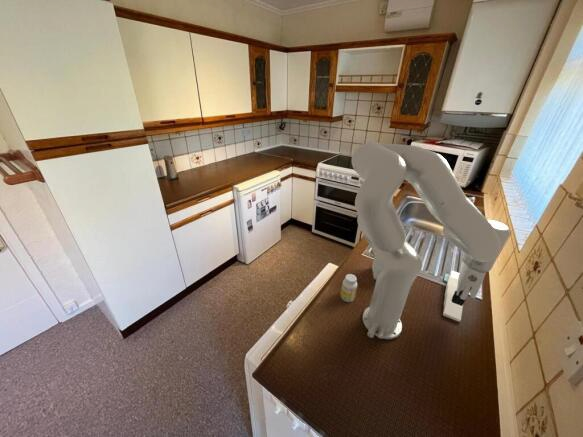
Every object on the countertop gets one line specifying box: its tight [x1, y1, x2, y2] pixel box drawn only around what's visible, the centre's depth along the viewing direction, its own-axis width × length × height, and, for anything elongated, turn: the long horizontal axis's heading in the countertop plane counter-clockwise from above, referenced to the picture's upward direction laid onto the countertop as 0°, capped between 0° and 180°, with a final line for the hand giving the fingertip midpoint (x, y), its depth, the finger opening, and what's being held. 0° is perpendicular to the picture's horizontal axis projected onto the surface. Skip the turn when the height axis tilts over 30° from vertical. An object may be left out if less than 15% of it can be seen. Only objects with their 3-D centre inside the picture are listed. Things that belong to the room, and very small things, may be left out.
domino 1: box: [443, 273, 450, 283], centre depth 98 cm, size 2×5×9 cm
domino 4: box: [443, 284, 457, 307], centre depth 88 cm, size 2×5×9 cm
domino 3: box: [444, 276, 458, 298], centre depth 92 cm, size 2×5×9 cm
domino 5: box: [442, 292, 464, 322], centre depth 84 cm, size 2×5×9 cm
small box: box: [371, 253, 384, 280], centre depth 100 cm, size 8×6×10 cm
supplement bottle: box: [340, 273, 358, 303], centre depth 88 cm, size 5×5×10 cm
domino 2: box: [449, 270, 460, 279], centre depth 96 cm, size 2×5×9 cm
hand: (456, 302), depth 80 cm, fingers closed
